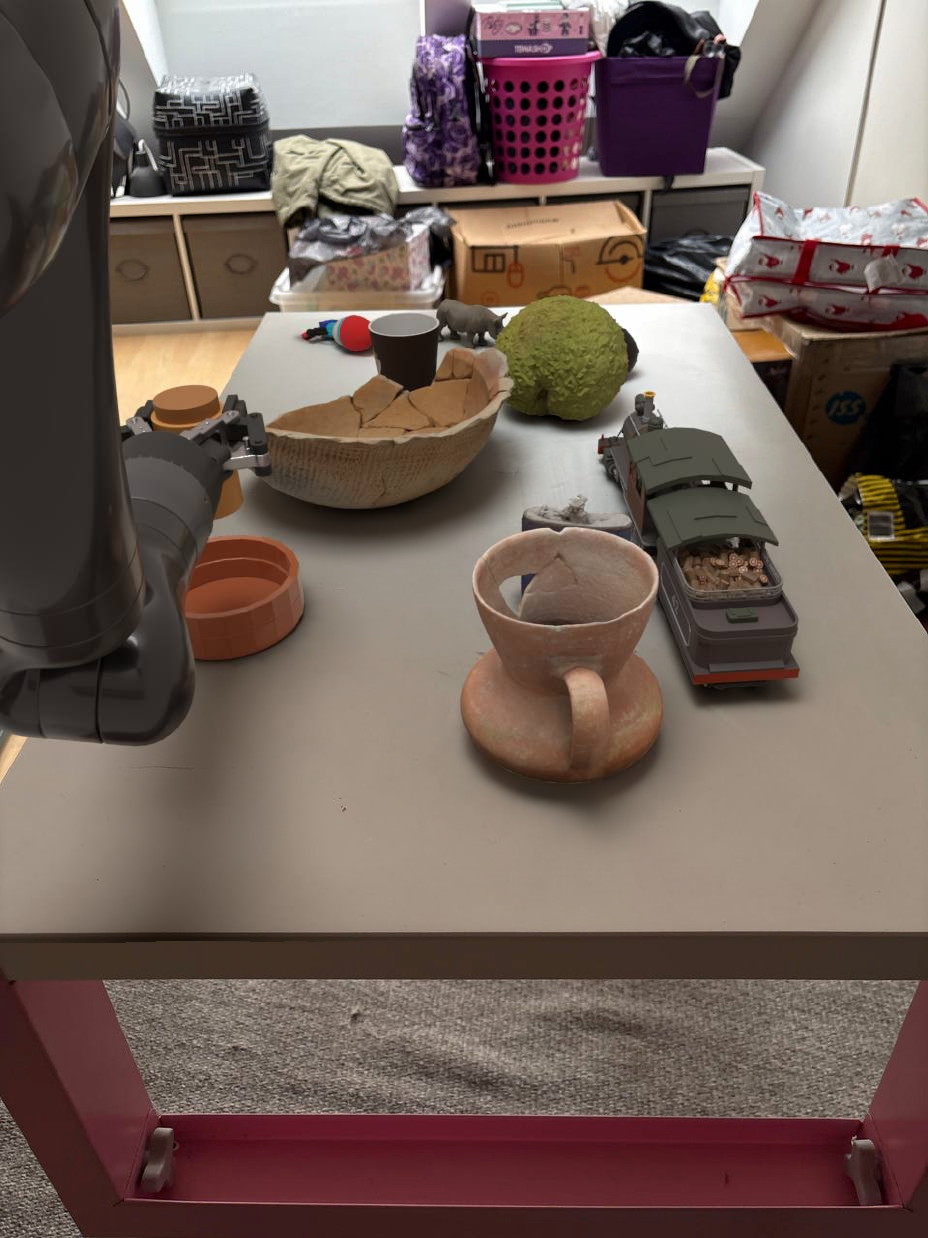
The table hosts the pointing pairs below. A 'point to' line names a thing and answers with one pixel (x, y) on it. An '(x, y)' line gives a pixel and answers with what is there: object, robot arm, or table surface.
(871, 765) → the table surface
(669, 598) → the toy train
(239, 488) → the orange lidded canister
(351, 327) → the toy figure
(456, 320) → the rhino figurine
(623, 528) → the flask
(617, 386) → the fruit
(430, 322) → the coffee mug
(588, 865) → the table surface
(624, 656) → the ceramic jug
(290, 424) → the ceramic bowl
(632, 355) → the figurine
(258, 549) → the terracotta bowl
